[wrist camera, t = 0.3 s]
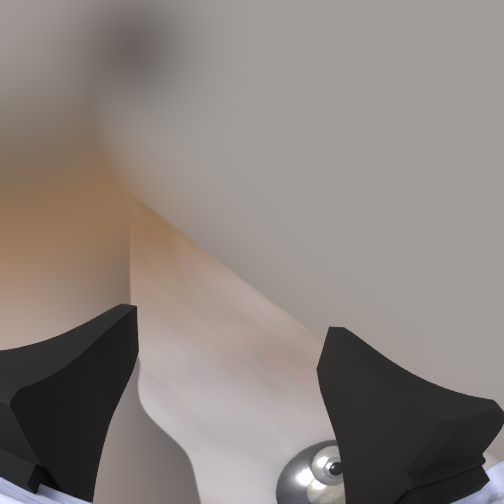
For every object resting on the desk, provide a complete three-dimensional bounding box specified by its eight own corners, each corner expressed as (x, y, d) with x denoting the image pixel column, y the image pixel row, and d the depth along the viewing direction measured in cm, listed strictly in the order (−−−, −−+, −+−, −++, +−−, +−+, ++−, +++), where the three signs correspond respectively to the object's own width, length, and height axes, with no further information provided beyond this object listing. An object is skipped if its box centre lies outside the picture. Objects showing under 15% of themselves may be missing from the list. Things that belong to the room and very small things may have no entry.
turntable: (380, 512, 28) (384, 516, 27) (280, 535, 27) (281, 540, 26) (374, 428, 34) (379, 429, 33) (269, 448, 33) (270, 451, 32)
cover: (351, 475, 30) (359, 482, 27) (310, 484, 30) (316, 492, 27) (347, 440, 32) (356, 444, 29) (307, 448, 32) (312, 453, 29)
